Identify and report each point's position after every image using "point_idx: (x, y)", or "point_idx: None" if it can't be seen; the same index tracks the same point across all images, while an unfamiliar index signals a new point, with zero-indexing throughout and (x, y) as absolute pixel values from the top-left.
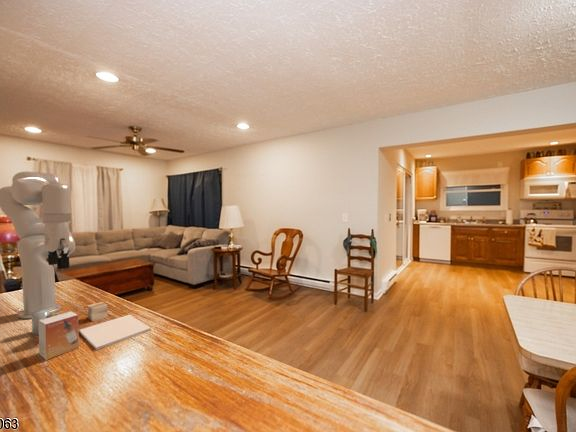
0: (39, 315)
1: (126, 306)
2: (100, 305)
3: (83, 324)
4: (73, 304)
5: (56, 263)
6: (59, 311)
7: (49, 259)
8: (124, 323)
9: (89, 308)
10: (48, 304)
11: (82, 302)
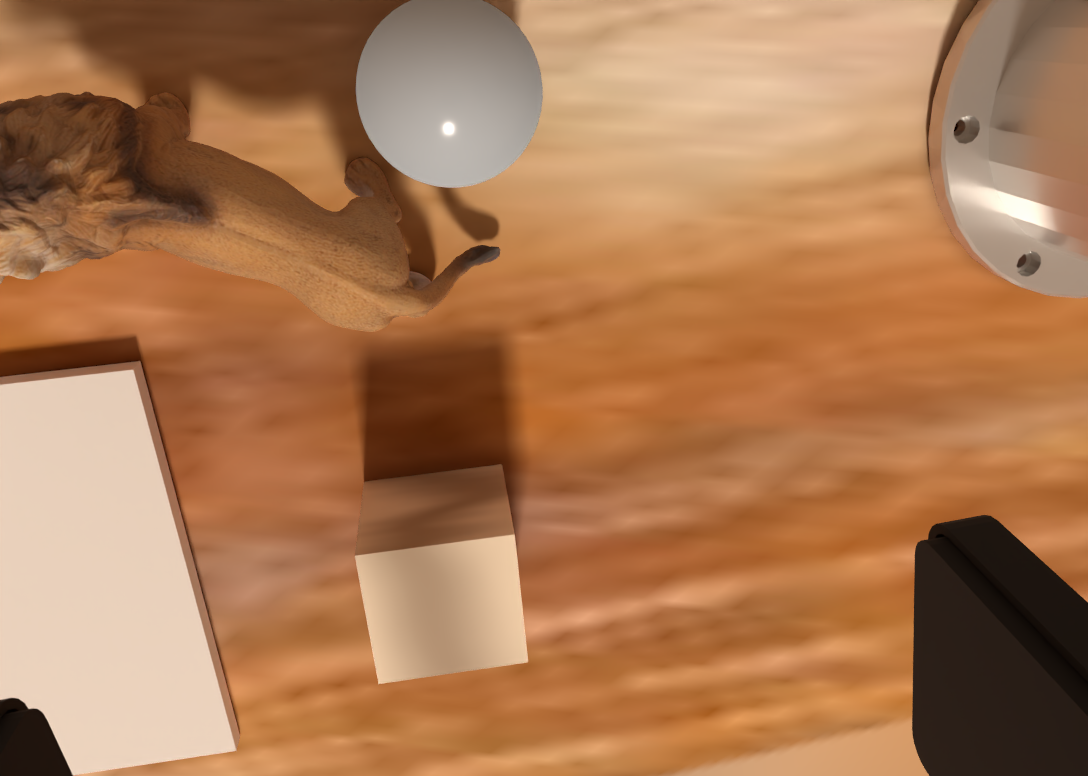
0: (357, 75)
1: (551, 751)
2: (405, 631)
3: (339, 411)
4: (1062, 398)
5: (923, 690)
6: (326, 283)
7: (1034, 661)
8: (17, 688)
9: (448, 532)
10: (1044, 198)
11: (1046, 471)
